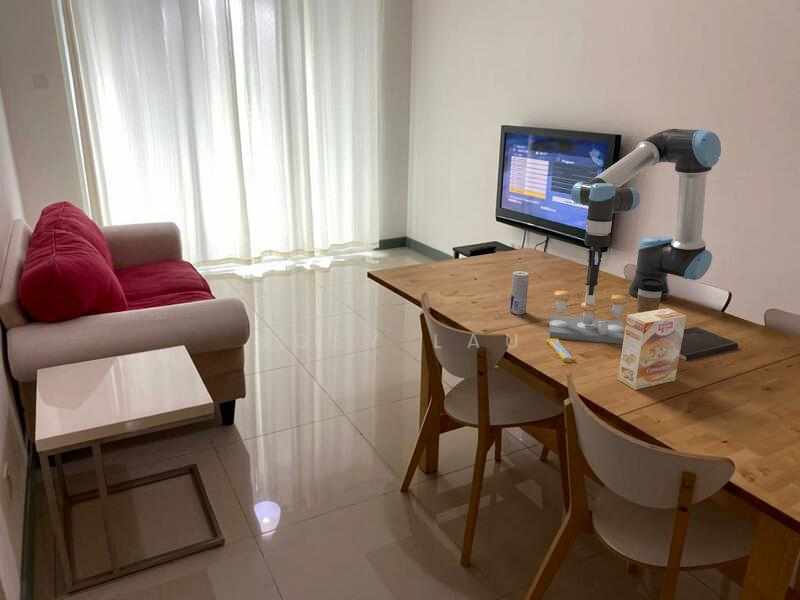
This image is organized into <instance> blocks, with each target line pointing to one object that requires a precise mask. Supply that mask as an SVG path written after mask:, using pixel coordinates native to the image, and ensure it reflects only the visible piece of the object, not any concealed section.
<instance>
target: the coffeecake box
mask: <svg viewBox="0 0 800 600" xmlns="http://www.w3.org/2000/svg"><path fill="white" fill-rule="evenodd" d="M686 319H687V315H686V314H683V313H681V312H678V311H677V310H674V309H671V308H668V307H667V308H661V309H658V310H654V311H647V312H641V313H637V312H636V313H630V314H626V321H625V326H624V328H625V333H624V340H623V344H622V348H621V354H620V363H619V369H618V376H617V380H618V381H620V382H621V383H624V384H625V385H627V386H628V387H629V388H631V389H632V390H635V391H636V390H640V389H644V388H645V389H646V388H648V387H653V386H657V385H661V384H666V383H669V382H675V381H676V376H677V371H678V364H679V361H680V358H679V355H680V350H681V344H682V338H683V332H684V329H685V326H686V321H687V320H686Z"/></svg>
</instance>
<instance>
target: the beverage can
mask: <svg viewBox="0 0 800 600" xmlns="http://www.w3.org/2000/svg"><path fill="white" fill-rule="evenodd" d="M528 288H529V272H527V271H523V270H519V271H513V272H512V281H511V291H510V292H511V293H510V294H511V295H510V306H509V308H510V309H509V311H510V312H511V314H513V315H523V314H525V313H526V312H527V303H528V302H527V300H528Z"/></svg>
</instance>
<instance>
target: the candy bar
mask: <svg viewBox="0 0 800 600" xmlns="http://www.w3.org/2000/svg"><path fill="white" fill-rule="evenodd" d="M545 342H547V344H548V345H549V347H550V348H551V347H552V348H551V349H552V350H553V351H554V352H555V354H556V355H557V356H558V357H559V358H560V360H562V362H563V363H566V362H567V363H575V362H576V361H577V358H574V357H573V356H572V354H570V353H569V352H568V350H566V348H565V347H564V346H563V345H562V343H561V342H560V338H546V339H545Z"/></svg>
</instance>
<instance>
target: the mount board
mask: <svg viewBox="0 0 800 600" xmlns="http://www.w3.org/2000/svg"><path fill="white" fill-rule="evenodd" d="M548 317H549V319H548V326H549V330H550V331H549V338H550V337H551V338H550V339H553V338H558V339H560V340H561V339H562V340H575V341H584V342H585V341H586V342H597V343H609V344H617V345H618V344H620V345H621V344H622V345H623V340H624V333H625V326H624V324H623V321H622V320H610V319H599V318H597V319H596V318H593V321H592V324H591V325H587V324H583V323H582V320H583V317H575V316H574V317H573V316H561V315H551V314H550V315H549V316H548ZM605 320H606V321H607V322H608V334H607V335H605V336H602V335H599V334H598V322H599V321H605Z"/></svg>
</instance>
